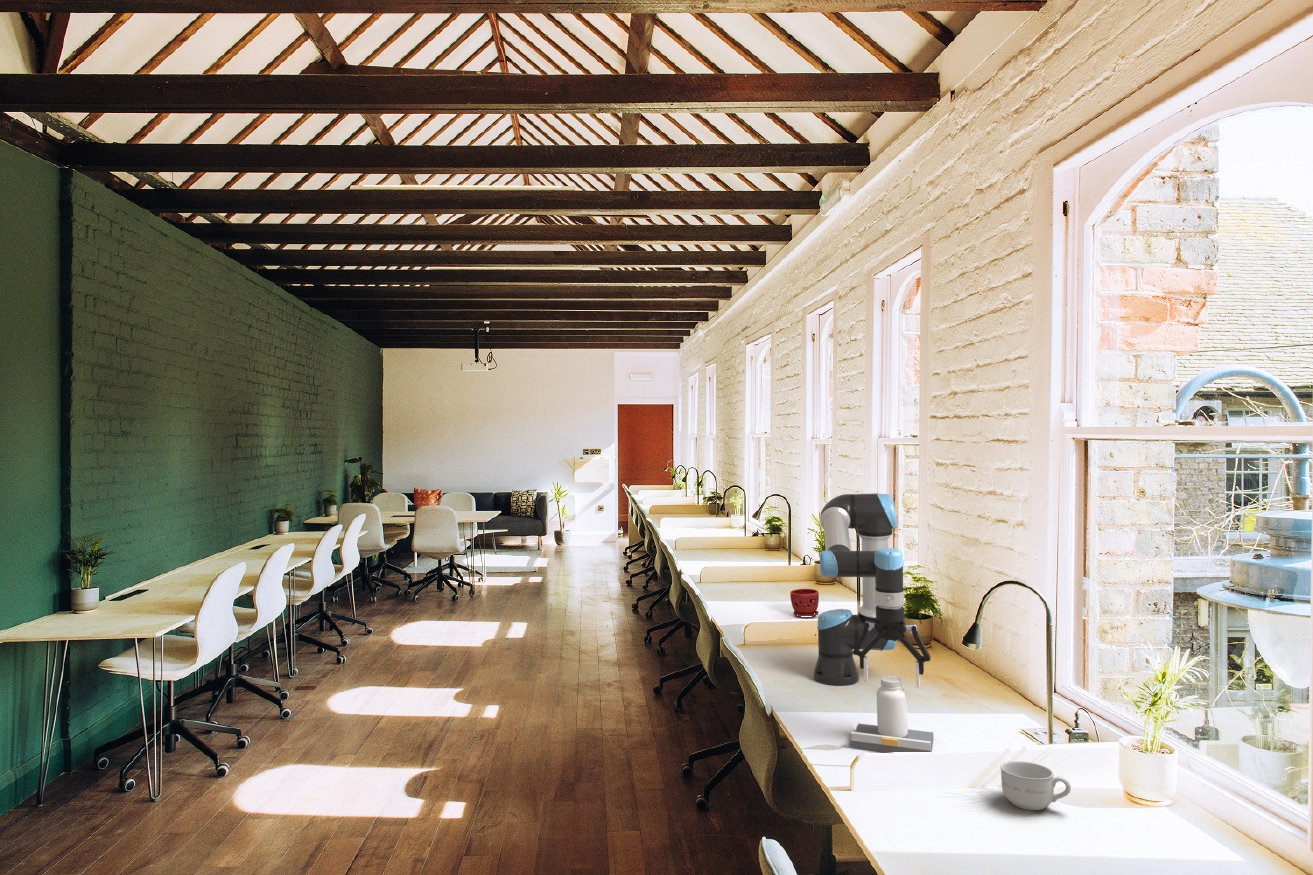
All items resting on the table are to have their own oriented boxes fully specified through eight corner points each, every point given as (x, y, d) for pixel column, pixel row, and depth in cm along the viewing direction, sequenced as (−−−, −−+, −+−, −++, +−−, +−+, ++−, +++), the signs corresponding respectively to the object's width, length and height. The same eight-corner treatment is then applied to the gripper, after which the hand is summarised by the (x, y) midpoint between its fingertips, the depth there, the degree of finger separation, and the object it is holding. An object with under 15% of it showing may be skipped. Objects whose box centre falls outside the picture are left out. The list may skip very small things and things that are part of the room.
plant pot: (803, 611, 362) (802, 587, 362) (825, 616, 352) (824, 590, 352) (785, 616, 354) (784, 590, 354) (807, 620, 344) (806, 594, 344)
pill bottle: (873, 734, 204) (871, 679, 204) (884, 725, 210) (882, 672, 211) (901, 741, 199) (900, 685, 199) (912, 731, 206) (910, 677, 206)
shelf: (858, 730, 213) (858, 716, 213) (933, 739, 205) (933, 724, 205) (851, 748, 200) (850, 733, 200) (930, 759, 192) (930, 743, 192)
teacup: (993, 804, 168) (992, 768, 168) (1012, 788, 176) (1011, 754, 176) (1061, 826, 158) (1059, 788, 158) (1077, 807, 166) (1076, 771, 166)
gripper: (841, 605, 207) (843, 682, 207) (937, 612, 197) (939, 692, 197) (845, 600, 213) (847, 674, 214) (939, 605, 204) (941, 683, 204)
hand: (891, 683), depth 205 cm, fingers open, 13 cm apart
